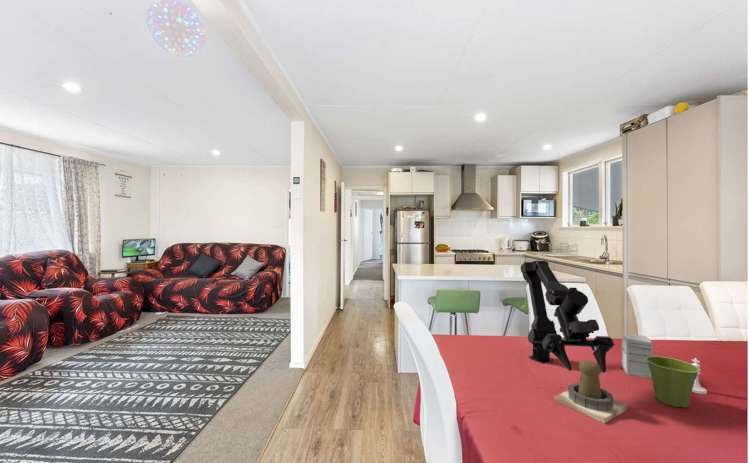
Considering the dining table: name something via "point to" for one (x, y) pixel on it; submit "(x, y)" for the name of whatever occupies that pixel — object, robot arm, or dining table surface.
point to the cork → (590, 380)
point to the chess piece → (696, 386)
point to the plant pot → (672, 380)
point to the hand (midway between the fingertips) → (587, 371)
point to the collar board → (589, 411)
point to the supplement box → (636, 355)
